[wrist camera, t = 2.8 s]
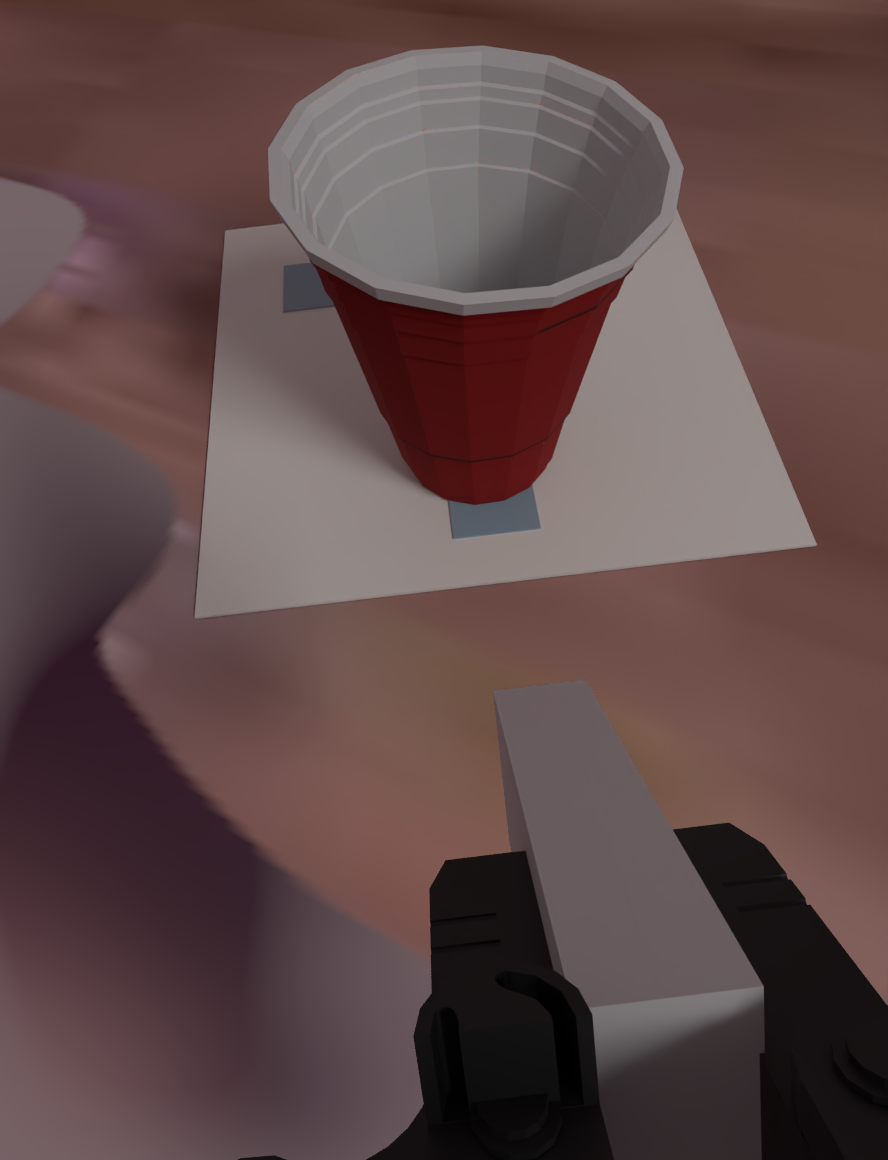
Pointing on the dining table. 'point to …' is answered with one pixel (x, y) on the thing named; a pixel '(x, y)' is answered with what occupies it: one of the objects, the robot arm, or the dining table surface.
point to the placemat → (459, 530)
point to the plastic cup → (473, 242)
